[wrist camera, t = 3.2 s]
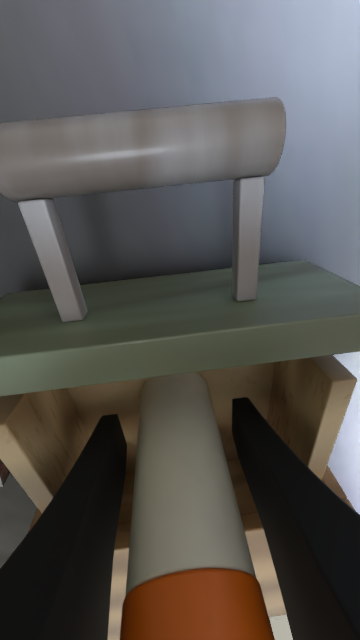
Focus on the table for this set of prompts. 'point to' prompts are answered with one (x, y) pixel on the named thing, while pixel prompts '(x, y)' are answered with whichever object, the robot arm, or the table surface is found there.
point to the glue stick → (187, 526)
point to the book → (3, 473)
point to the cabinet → (257, 552)
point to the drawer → (163, 299)
